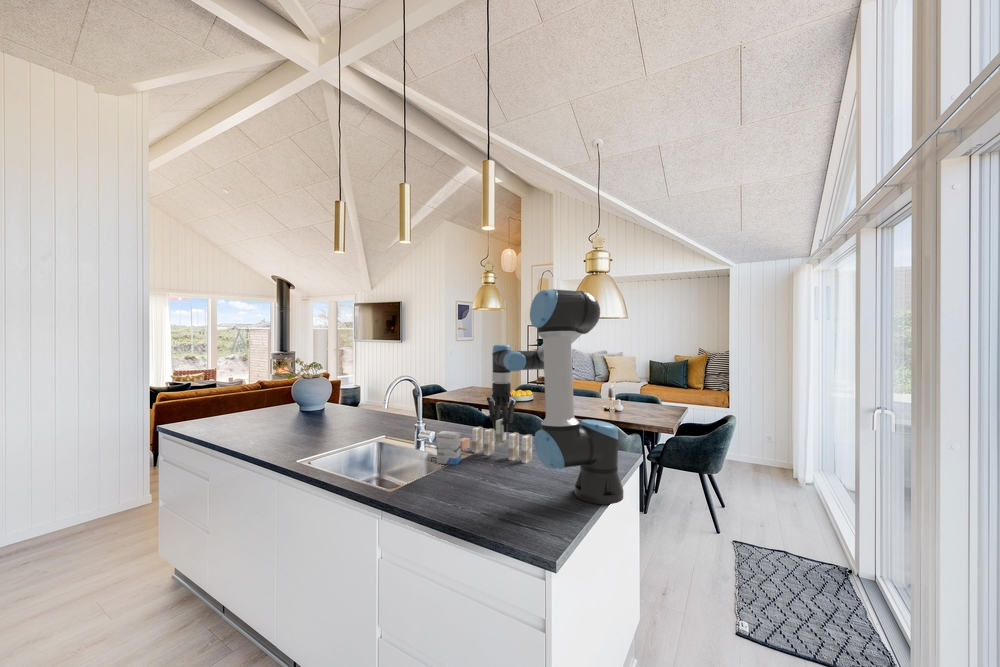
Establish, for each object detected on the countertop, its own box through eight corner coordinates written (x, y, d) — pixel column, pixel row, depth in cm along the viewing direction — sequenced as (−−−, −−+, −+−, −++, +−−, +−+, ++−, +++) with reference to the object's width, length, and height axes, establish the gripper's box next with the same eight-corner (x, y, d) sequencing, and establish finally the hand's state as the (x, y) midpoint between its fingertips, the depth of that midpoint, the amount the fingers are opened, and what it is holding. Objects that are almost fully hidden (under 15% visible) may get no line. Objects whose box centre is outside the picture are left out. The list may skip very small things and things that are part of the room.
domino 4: (512, 460, 165) (512, 435, 164) (508, 459, 166) (508, 434, 165) (518, 457, 169) (519, 432, 169) (514, 456, 170) (514, 432, 170)
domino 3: (499, 445, 168) (500, 421, 168) (495, 445, 169) (495, 420, 169) (506, 442, 172) (506, 419, 172) (502, 442, 173) (502, 418, 173)
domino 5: (526, 463, 161) (526, 437, 161) (521, 462, 162) (521, 437, 162) (532, 459, 166) (532, 435, 165) (527, 459, 167) (527, 434, 166)
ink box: (461, 461, 163) (461, 431, 163) (456, 465, 158) (456, 435, 158) (441, 459, 166) (441, 430, 166) (435, 463, 161) (435, 433, 161)
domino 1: (475, 453, 174) (475, 429, 174) (472, 452, 175) (472, 428, 175) (482, 450, 178) (482, 427, 178) (478, 449, 179) (478, 426, 179)
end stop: (462, 450, 178) (462, 441, 178) (456, 449, 179) (456, 440, 179) (469, 447, 182) (469, 438, 182) (464, 446, 184) (464, 437, 184)
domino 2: (487, 455, 171) (487, 431, 171) (483, 454, 172) (483, 430, 172) (494, 452, 175) (494, 429, 175) (490, 451, 176) (490, 428, 176)
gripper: (521, 382, 169) (521, 439, 170) (491, 379, 177) (490, 434, 178) (512, 384, 163) (512, 444, 163) (481, 381, 171) (480, 438, 171)
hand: (501, 439), depth 170 cm, fingers closed on domino 3, 2 cm apart
